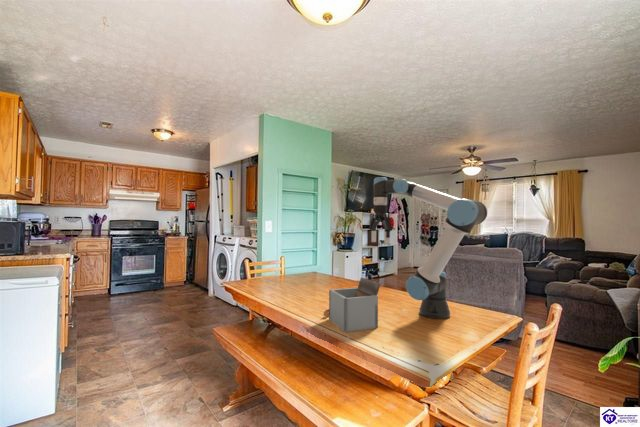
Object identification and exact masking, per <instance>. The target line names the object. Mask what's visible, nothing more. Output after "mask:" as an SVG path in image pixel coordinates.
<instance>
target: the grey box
mask: <svg viewBox="0 0 640 427" xmlns="http://www.w3.org/2000/svg"><path fill="white" fill-rule="evenodd" d="M357 289H358V287H347V288H337V289H336V288H335V289H333V288H332V289H329V291H328V292H329V294H328V295H329V296H328V297H329V298H328V300H329V301H328V308H329V309H328V312H329V313H328V315H329V316H328V320H330V321H331V322H332V323H333V324H334V325H335V326H337V327H338V328H339V329H341V330H342V331H343V332H344V333H348V332H357V331H365V330H372V329H377V328H379V323H378V322H379V316H378V315H379V296H378V294H377V295H372V296H362V297H355V293H356V290H357Z"/></svg>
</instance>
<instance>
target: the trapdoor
mask: <svg viewBox="0 0 640 427" xmlns="http://www.w3.org/2000/svg"><path fill="white" fill-rule="evenodd" d="M380 286H381V283H379V282H376V281H373V280H370V279H367V278H364V277H360V279H359V283H358V285H357V288H358V289H357V290H356V293H355V297H362V296H373V295H377V296H378V293H379V290H380Z"/></svg>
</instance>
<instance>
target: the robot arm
mask: <svg viewBox="0 0 640 427" xmlns="http://www.w3.org/2000/svg"><path fill="white" fill-rule="evenodd" d="M372 186H373V199H372V200H373V212H374V213H372V215H371V220H370V224H369V227H368V229H369V230H370V231H371V243H377V228H378V226H379V224H380V223H381V224H382V227H383V229H384V245H390V242H391V241H390V238H391V231H394V230H393V227H392V222H391V219H390V213H388V206H387V205H388V195H392V194H393V195H394V194H397V195H405V196H408V197H411V198H414V199H417V200H418V201H422V202H424V203H427V204H430V205H433V206H435V207H437V208H440V209H443V210H445V211H447V212H446V214H447V217H446V219H445V220H444V222H445V224H446V226H445V228H444V230H443V231H442V233H441V234H440V235H439V238H438V239H437V241H436V243H435V244H434V247H433V248H432V249H431V251H430V253H429V255H428V257H427V258H426V260H425V262H424V264H423V265H422V266H420V267H419V266H418V268H417V269H416V271H415V272H414V274H413V275H412V276H410V277H409V278H408V279H407V280H406V281H405V289H406V291H407V294H408V295H409V296H410V298H412V299H414V300H416V301H421V304H420V307H419V310H418V311H419V314H420V315H421V316H423V317H426V318H430V319H442V320H443V319H447V318H450V317H451V310H450V308H449V307H450V306H449V304H448V301H447V274H446V272H445V271H444V269H445V267H446V266H447V264H448V263H449V261H450V259H451V258H452V256H453V254H454V253H455V252H456V249H457V248H458V246H459V245H460V243H461V241H462V240H463V238H464V236H465V235H468V234H470V233H471V232H472V230H473V229H474V227H475V226H476V225H477V226H478V225H480V224H482V223H483V222H485V221H486V219H487V217H488V209H487V206H486V205H485V204H484V203H483V202H481V201H479V200H474V199H469V198H466V197H465V198H464V197H463V198H459V197H456V196H453V195H450V194H447V193H444V192H441V191H439V190H435V189H432V188H429V187H427V186H423V185H421V184H417V183H415V182H413V181H408V180H406V179H405V178H398V179H390V180H389V179H388V178H387V177H384V176H381V177H380V176H378V177H375V178H374V179H373V185H372Z"/></svg>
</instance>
